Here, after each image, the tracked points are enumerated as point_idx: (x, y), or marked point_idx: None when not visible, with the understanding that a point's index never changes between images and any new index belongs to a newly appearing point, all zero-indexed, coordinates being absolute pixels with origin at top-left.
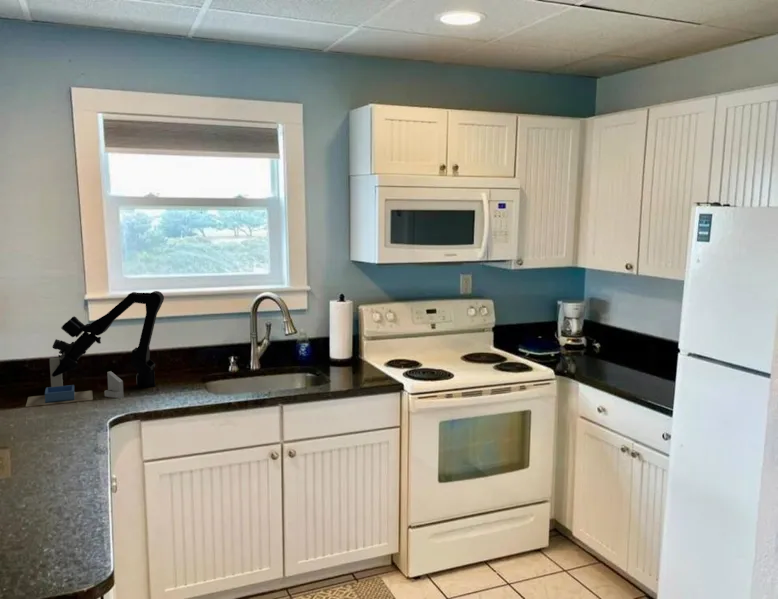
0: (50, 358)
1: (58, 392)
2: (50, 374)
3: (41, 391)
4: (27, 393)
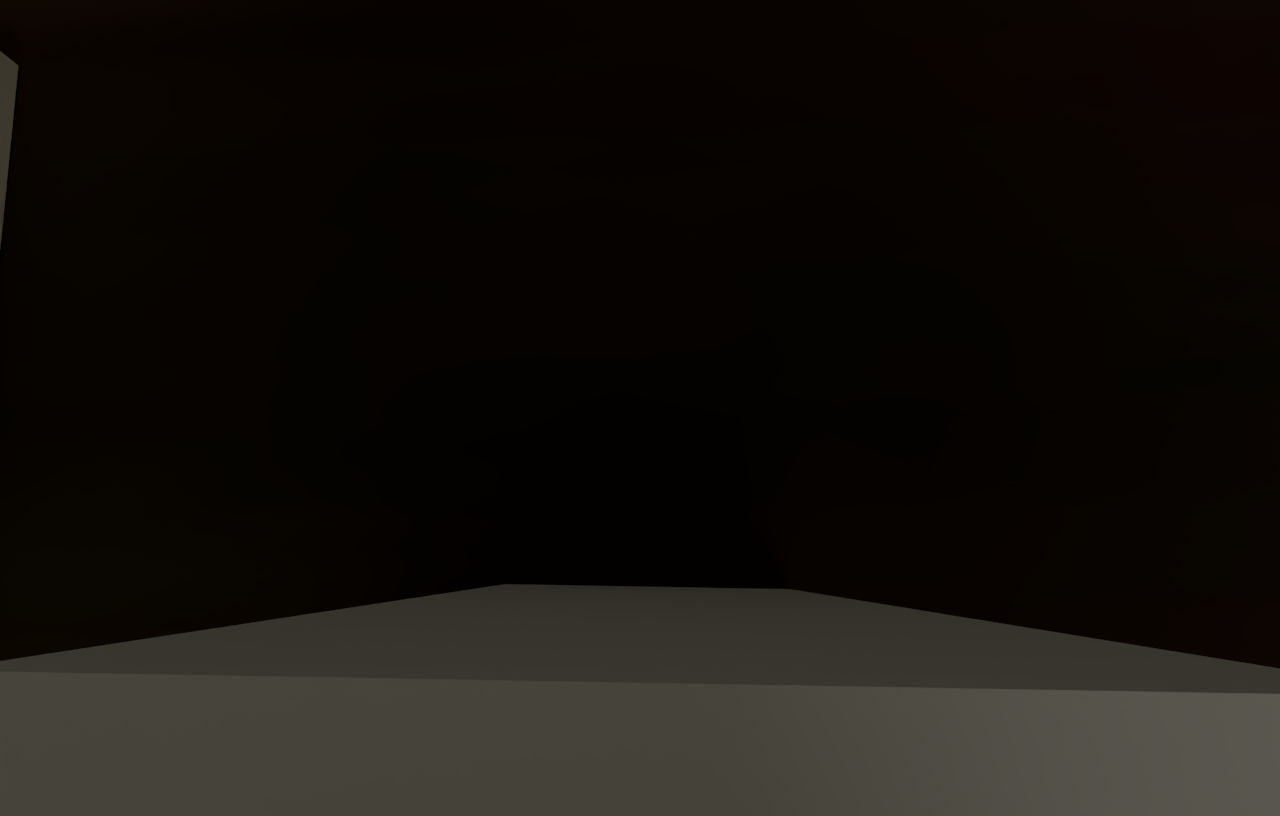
0: (1218, 772)
1: None
2: (401, 603)
3: (741, 335)
4: (671, 22)
